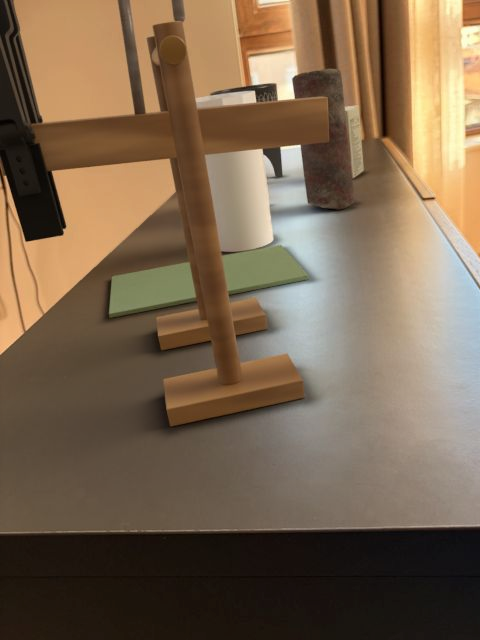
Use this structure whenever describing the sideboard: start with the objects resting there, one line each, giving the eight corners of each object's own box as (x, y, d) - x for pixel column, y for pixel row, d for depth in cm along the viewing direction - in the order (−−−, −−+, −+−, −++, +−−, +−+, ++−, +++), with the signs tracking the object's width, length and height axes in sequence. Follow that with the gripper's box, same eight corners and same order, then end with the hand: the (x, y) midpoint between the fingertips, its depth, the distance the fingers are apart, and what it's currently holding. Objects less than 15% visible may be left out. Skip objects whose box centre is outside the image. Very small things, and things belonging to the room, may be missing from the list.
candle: (302, 214, 99) (286, 74, 91) (311, 202, 105) (297, 71, 97) (351, 210, 97) (339, 67, 88) (358, 199, 103) (347, 64, 95)
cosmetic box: (343, 172, 126) (338, 106, 120) (364, 171, 123) (360, 104, 118) (331, 180, 121) (325, 111, 115) (352, 179, 118) (347, 109, 113)
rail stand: (159, 331, 63) (95, 46, 52) (258, 311, 64) (215, 29, 53) (170, 427, 46) (79, 32, 35) (305, 397, 47) (257, 7, 36)
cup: (202, 250, 88) (180, 128, 81) (238, 233, 94) (220, 118, 87) (250, 253, 83) (231, 124, 76) (285, 235, 89) (269, 114, 82)
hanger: (6, 173, 47) (-38, -15, 42) (323, 139, 50) (317, -38, 45) (2, 176, 45) (-44, -18, 40) (329, 142, 49) (323, -41, 44)
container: (204, 203, 117) (185, 98, 109) (279, 197, 112) (266, 87, 105) (173, 225, 104) (150, 108, 97) (257, 219, 100) (239, 96, 92)
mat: (112, 280, 81) (111, 276, 81) (281, 248, 83) (281, 244, 83) (109, 318, 68) (108, 313, 68) (308, 279, 71) (308, 275, 70)
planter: (273, 171, 137) (262, 83, 130) (297, 178, 126) (286, 82, 119) (216, 183, 134) (202, 93, 127) (236, 191, 123) (221, 93, 115)
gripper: (-23, -203, 32) (92, 249, 42) (20, -123, 45) (100, 206, 55) (-180, -188, 31) (-26, 270, 41) (-89, -111, 44) (11, 222, 54)
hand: (46, 233), depth 48 cm, fingers closed on hanger, 2 cm apart
